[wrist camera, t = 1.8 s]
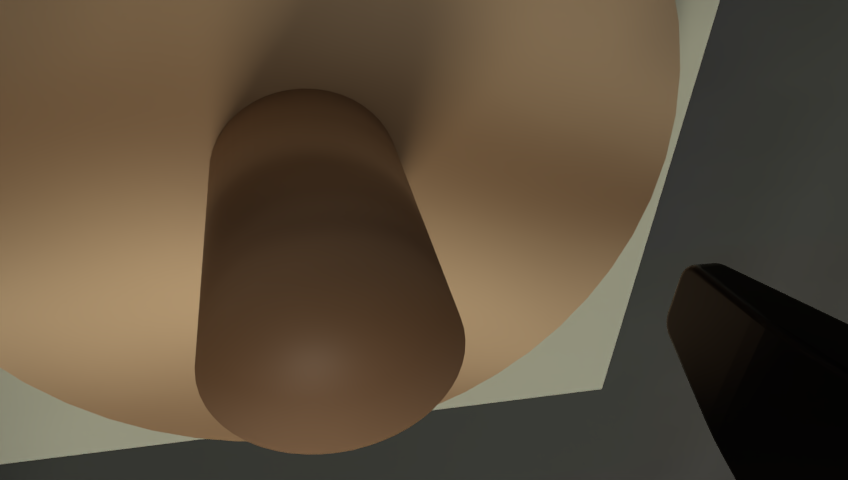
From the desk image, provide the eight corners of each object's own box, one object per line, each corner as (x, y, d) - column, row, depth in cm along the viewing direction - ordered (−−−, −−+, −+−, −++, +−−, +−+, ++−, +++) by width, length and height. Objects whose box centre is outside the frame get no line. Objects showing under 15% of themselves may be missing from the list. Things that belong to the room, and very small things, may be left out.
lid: (572, 362, 16) (688, 577, 12) (2, 429, 13) (-103, 730, 9) (740, -286, 9) (1152, -312, 5) (-354, -397, 7) (-1336, -633, 2)
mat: (591, 371, 17) (601, 388, 17) (-32, 445, 14) (-42, 469, 14) (802, -366, 9) (833, -373, 9) (-502, -549, 6) (-564, -575, 6)
